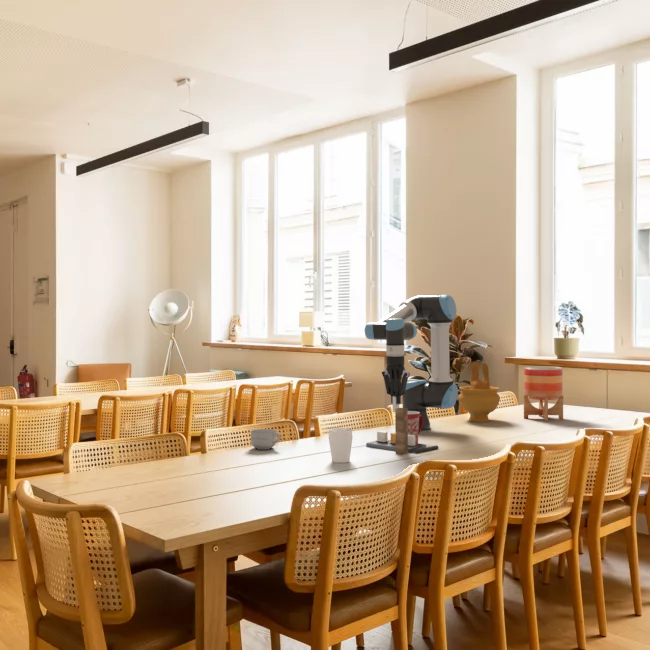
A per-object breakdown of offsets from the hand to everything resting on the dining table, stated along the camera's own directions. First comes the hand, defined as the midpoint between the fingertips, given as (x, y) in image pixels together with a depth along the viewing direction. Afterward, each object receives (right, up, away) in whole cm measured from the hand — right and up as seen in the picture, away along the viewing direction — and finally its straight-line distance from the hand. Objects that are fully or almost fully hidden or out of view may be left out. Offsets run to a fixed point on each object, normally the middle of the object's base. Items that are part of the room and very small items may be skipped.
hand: (396, 411), depth 299 cm
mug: (+8, -15, +10) cm, 20 cm away
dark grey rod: (+12, -15, -8) cm, 21 cm away
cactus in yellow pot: (+50, -13, +72) cm, 89 cm away
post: (+1, -15, -13) cm, 20 cm away
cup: (-24, -16, -26) cm, 39 cm away
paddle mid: (0, -14, 0) cm, 14 cm away
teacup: (-54, -16, -1) cm, 57 cm away
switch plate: (0, -15, 0) cm, 15 cm away
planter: (+85, -13, +76) cm, 114 cm away
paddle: (-5, -13, +5) cm, 15 cm away
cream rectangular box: (+5, -14, -5) cm, 15 cm away
